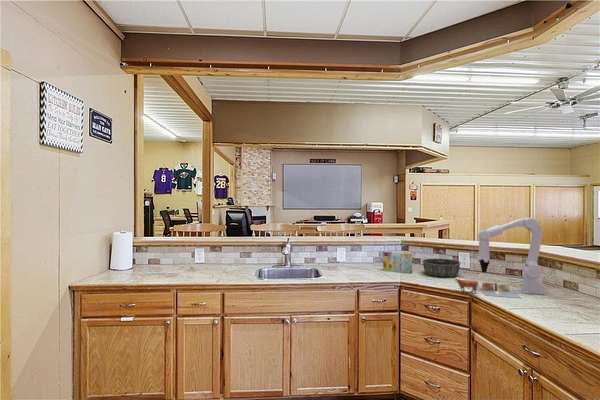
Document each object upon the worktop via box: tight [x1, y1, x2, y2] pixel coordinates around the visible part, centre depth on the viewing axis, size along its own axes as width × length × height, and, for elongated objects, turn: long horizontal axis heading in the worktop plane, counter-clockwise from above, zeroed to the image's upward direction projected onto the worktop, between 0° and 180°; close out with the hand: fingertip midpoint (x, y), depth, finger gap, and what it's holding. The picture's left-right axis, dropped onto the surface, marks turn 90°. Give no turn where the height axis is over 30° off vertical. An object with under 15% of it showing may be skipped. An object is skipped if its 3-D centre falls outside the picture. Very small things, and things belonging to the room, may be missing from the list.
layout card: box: [480, 288, 522, 299], centre depth 212 cm, size 18×16×1 cm
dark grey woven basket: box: [421, 257, 462, 278], centre depth 265 cm, size 26×26×10 cm
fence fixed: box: [494, 282, 510, 292], centre depth 215 cm, size 8×1×5 cm, turn 72°
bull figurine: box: [453, 276, 479, 295], centre depth 216 cm, size 4×13×8 cm, turn 51°
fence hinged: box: [481, 282, 495, 291], centre depth 217 cm, size 6×1×4 cm, turn 72°
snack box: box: [382, 250, 413, 274], centre depth 277 cm, size 21×6×15 cm, turn 58°
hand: (484, 272), depth 222 cm, fingers closed
